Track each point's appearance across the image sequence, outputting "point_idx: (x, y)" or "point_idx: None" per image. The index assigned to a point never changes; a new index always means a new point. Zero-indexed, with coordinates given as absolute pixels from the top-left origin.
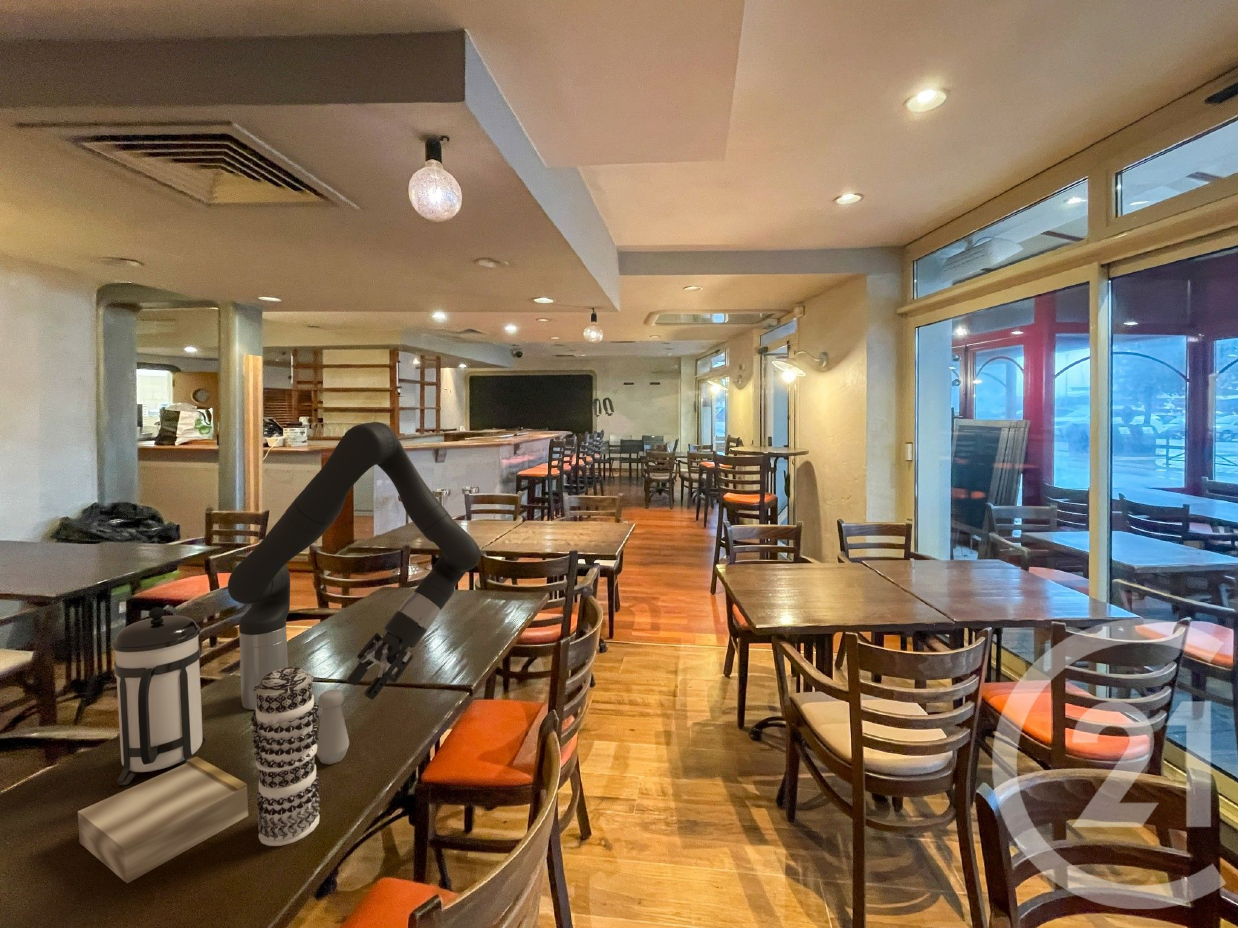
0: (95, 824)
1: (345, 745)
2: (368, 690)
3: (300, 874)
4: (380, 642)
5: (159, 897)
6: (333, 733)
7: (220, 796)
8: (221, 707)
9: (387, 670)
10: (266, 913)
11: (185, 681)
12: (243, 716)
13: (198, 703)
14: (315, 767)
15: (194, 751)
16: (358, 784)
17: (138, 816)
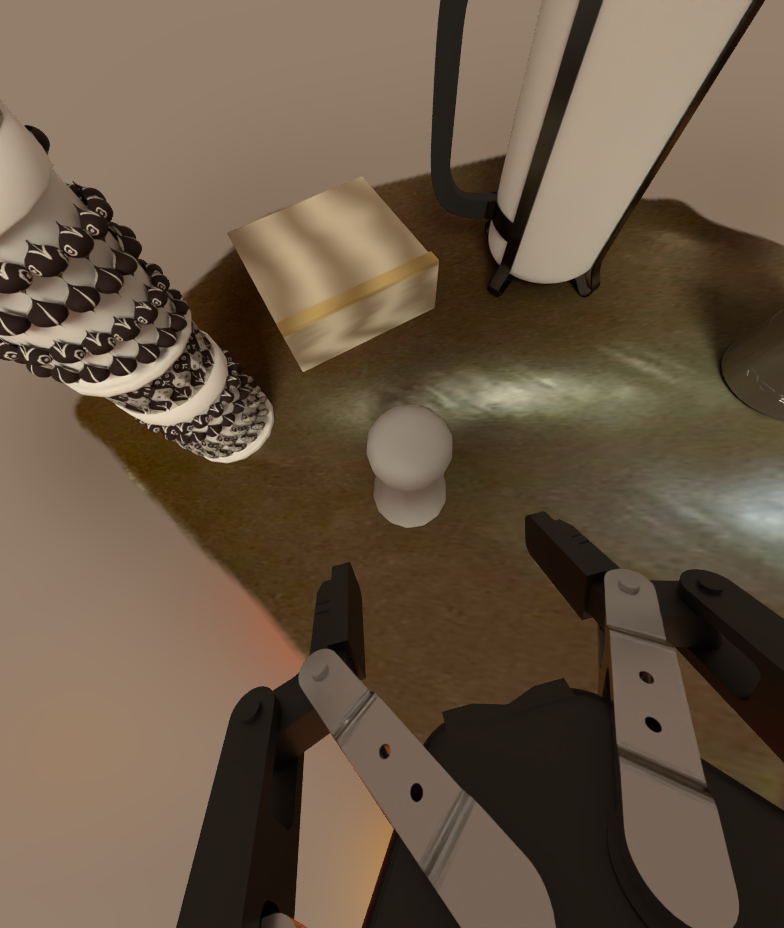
0: (312, 197)
1: (386, 516)
2: (331, 580)
3: (116, 434)
4: (701, 868)
5: (202, 306)
6: (377, 480)
7: (279, 307)
8: (755, 305)
9: (267, 732)
10: (82, 400)
11: (581, 40)
12: (691, 343)
13: (583, 177)
14: (143, 415)
15: (521, 276)
16: (279, 533)
17: (298, 230)
